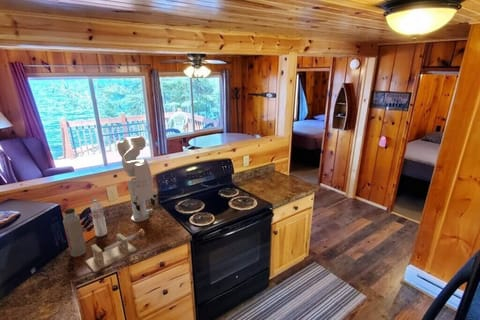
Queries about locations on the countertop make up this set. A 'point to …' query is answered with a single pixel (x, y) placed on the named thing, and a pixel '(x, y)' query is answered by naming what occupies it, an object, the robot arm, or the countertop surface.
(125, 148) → the robot arm
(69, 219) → the thermos bottle
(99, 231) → the water bottle
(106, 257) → the bracket
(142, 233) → the shaft
